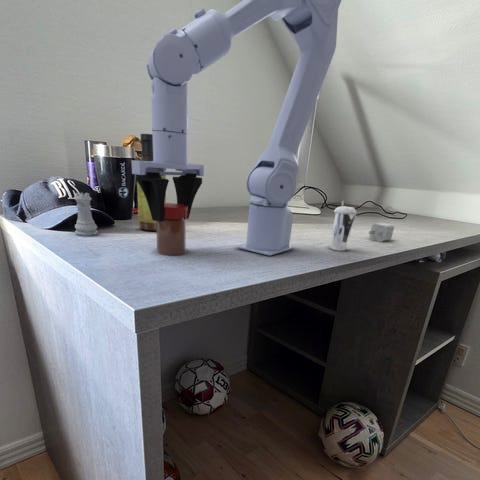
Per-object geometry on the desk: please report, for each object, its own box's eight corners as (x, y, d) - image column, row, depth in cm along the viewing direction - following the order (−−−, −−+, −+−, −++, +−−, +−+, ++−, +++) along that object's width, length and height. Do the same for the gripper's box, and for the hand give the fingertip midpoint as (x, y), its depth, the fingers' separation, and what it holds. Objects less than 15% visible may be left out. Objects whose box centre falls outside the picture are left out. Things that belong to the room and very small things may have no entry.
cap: (146, 215, 61) (146, 203, 60) (171, 212, 65) (171, 202, 64) (170, 220, 58) (170, 208, 57) (194, 217, 62) (194, 206, 61)
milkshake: (343, 246, 79) (353, 201, 75) (351, 252, 75) (361, 204, 70) (324, 245, 79) (332, 199, 75) (330, 250, 74) (339, 202, 70)
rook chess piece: (76, 231, 73) (71, 191, 70) (98, 231, 74) (95, 192, 71) (73, 236, 69) (68, 194, 66) (97, 236, 71) (93, 195, 67)
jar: (171, 246, 67) (170, 206, 64) (191, 252, 65) (192, 210, 62) (150, 250, 63) (149, 207, 60) (171, 256, 61) (171, 211, 57)
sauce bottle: (163, 232, 79) (161, 134, 70) (135, 230, 78) (130, 131, 70) (169, 227, 84) (167, 136, 76) (143, 225, 84) (139, 134, 76)
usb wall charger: (390, 240, 91) (394, 225, 89) (378, 242, 87) (382, 226, 85) (376, 237, 94) (380, 222, 92) (363, 239, 89) (367, 223, 88)
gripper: (184, 136, 63) (184, 213, 69) (116, 127, 52) (122, 219, 58) (213, 138, 60) (210, 218, 65) (147, 128, 49) (151, 225, 55)
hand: (171, 219), depth 62 cm, fingers closed on cap, 6 cm apart
